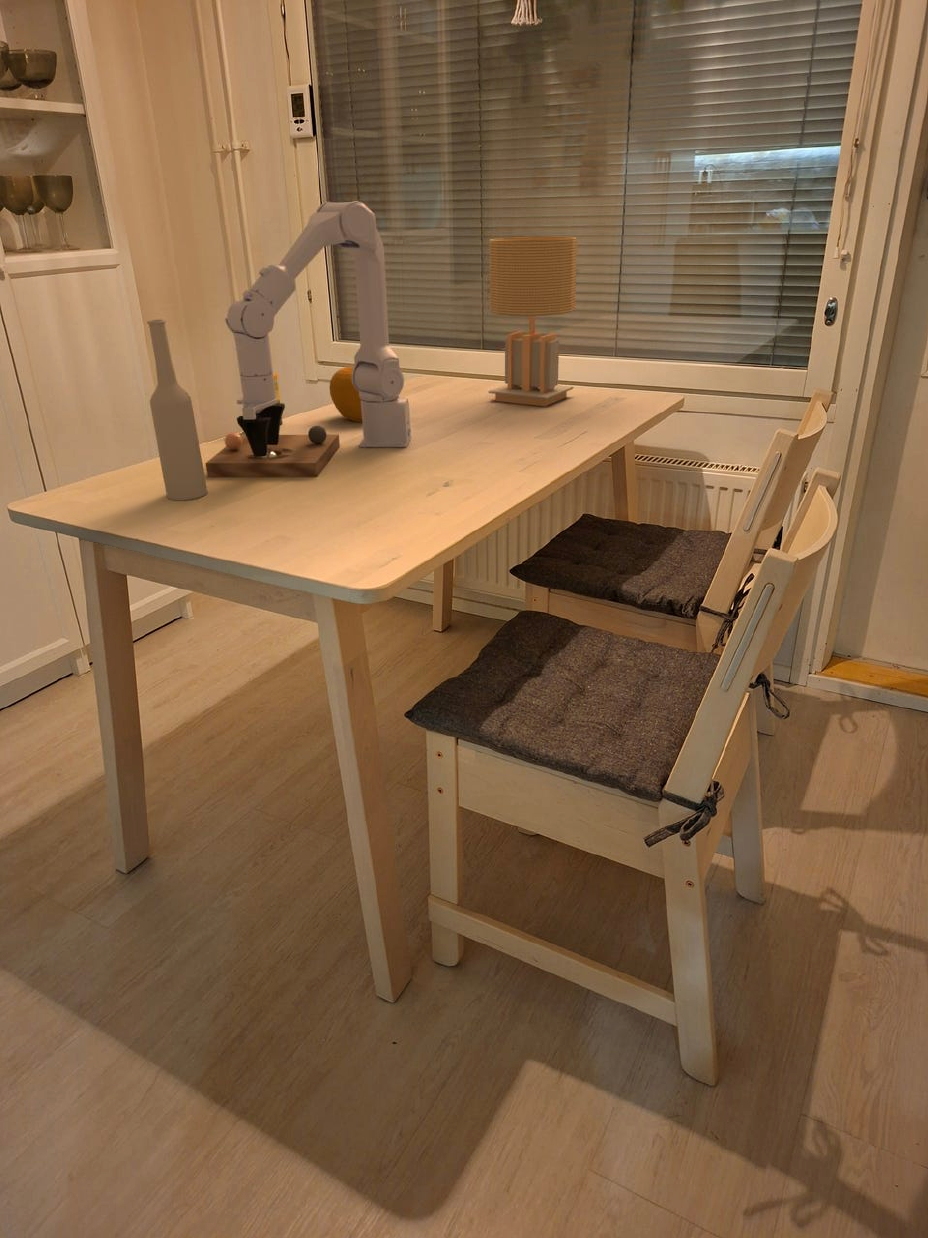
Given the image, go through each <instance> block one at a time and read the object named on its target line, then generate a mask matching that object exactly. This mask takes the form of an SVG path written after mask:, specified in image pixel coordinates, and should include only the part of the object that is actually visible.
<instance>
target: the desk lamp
mask: <svg viewBox="0 0 928 1238" xmlns="http://www.w3.org/2000/svg"><path fill="white" fill-rule="evenodd" d="M577 254H578V237H574V236H527V237H525V236H523V237H521V236H520V237H503V238H502V237H501V238H492V239H489V305H490V307H489V309H490V310H489V311H490V313H492V314H496V315H498V316H499V315H500V316H508V317H509V316H511V317H529V323H528V325H529V326H528V330H529V331H528V333H527V334H524V331H520V330H519V331H516V332H512V333H510V334H509V333H508V334H507V338H505V339H504V385H501V386H499V387H495V388H493V389H490V390H488V394H493V395H495V396H494V401H495V402H503V403H512V404H519V405H529V406H530V405H532V406H538V407H539V406H540V407H547V406H549V405H552V404H553V403H556V402H559V401H560V400H563V399H565V398H567V396H568V395H567V393H568V391H572V390H573V389H574V386H572V385H571V386H569V385H561V384H560V385H559V363H560V361H559V359H560V358H559V357H560V356H559V355H560V353H559V352H560V351H559V350H560V339H557V333H549V334H547V335H546V334H545V335H542V332H535V331H536V330H535V329H536V328H535V327H536V324H535V323H536V317H548V316H556V315H557V316H559V315H564V314H569V313H573V312H575V310H576V292H577V291H576V288H577V287H576V286H577V285H576V282H577V259H578V257H577Z"/></svg>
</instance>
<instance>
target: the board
mask: <svg viewBox="0 0 928 1238" xmlns="http://www.w3.org/2000/svg"><path fill="white" fill-rule="evenodd" d="M239 435H240V436H241V438H242V441H243V442H242V446H241V447H240V448H239V449H237V450H231V449H229V448H228V447H227V446H226V445H225V447H223V448H222V449H221V450H220V451H218V452H217V453H215V455H214V456H213V457H211V458H210V459H209V460H208V461H206V462H205V463H204V464H205V469H206V474H207V477H208V478H243V477H244V478H246V477H247V478H260V477H261V478H265V477H266V478H273V477H274V478H276V477H277V478H286V477H288V478H290V477H291V478H292V477H293V478H302V477H303V478H305V477H306V478H307V477H308V478H310V477H311V478H312V477H313V478H316V477H318V476H319V475H320V473H321V472H322V471H323V470H324V468H325V467H326V466H327V465H328V463H329V462H330V461H331V459H332V458H333V457H334V455H335V454H336V453H337V451H338V450H339V449H340V447H341V443H340V435H339V434H335V433H334V434H331V433H330V434H327V433H326V439H325V441H324V442H323V443H321V444H315V443H313V442H311V441H310V439H309V436H308V434H279V442H278V445H267V451H273V452H275V453H276V455H277V456H275V457H261V456H259V457H255V456H254V454H253V452H252V449H251V447H250V444H249V441H248V439H247V437H246V435H245V434H239Z"/></svg>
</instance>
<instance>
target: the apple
mask: <svg viewBox="0 0 928 1238" xmlns="http://www.w3.org/2000/svg"><path fill="white" fill-rule="evenodd" d="M353 368H354V365H353V366H347V367H343V368H340V369H338V370H337V371H336V372H335V373H334V374H333V376H332V377H331V379H330V382H329V396H330V398H331V401H332V403H333V404H334V406H335V408H336V409H337V411H338V412H339V413H340V415H341V416H343V417H344V418H346V419H348V420H351V421H353V422H354V423H355V422H356V423H359V422H361V423H362V411H361V398H360V397H359V391H357V390H356V389H355V387H354V386H353V383H352V371H353Z"/></svg>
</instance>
